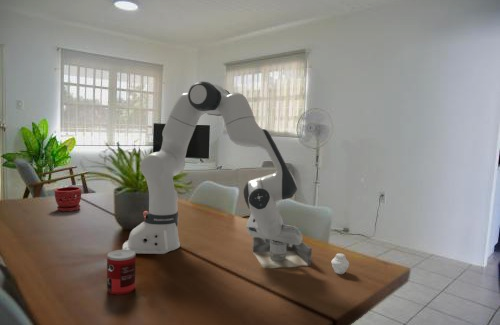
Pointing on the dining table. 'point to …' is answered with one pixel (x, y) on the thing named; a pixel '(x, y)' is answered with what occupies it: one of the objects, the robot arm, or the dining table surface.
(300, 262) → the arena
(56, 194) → the plant pot
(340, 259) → the white rounded ceramic piece
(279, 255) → the camera lens
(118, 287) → the canned food
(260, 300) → the dining table surface
